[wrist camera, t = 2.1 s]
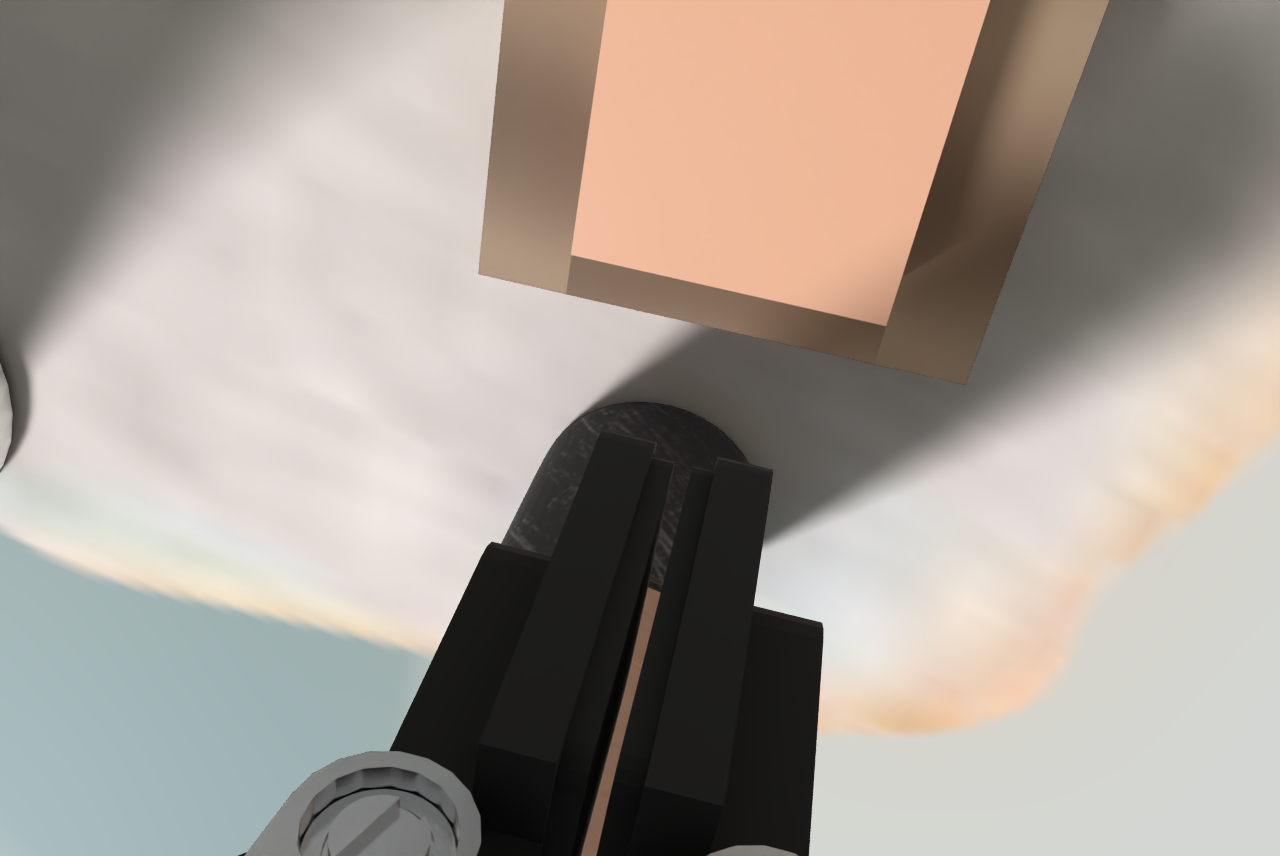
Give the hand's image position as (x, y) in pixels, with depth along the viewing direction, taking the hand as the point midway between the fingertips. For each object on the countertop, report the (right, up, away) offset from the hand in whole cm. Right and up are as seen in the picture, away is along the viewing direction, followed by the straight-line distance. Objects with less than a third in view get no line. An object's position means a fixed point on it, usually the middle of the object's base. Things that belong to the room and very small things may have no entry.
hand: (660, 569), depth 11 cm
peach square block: (+3, +10, +16) cm, 19 cm away
